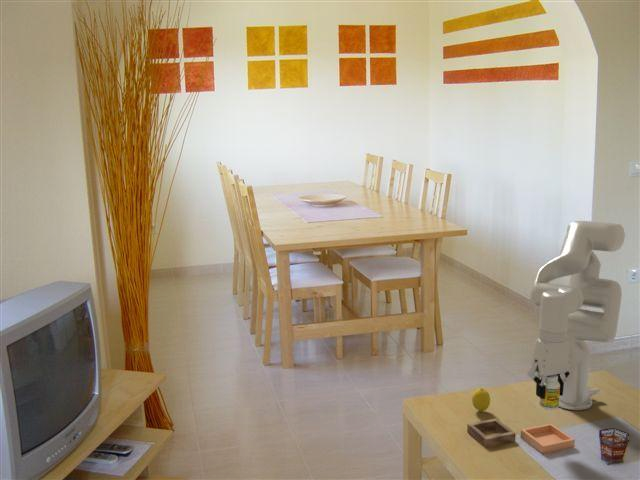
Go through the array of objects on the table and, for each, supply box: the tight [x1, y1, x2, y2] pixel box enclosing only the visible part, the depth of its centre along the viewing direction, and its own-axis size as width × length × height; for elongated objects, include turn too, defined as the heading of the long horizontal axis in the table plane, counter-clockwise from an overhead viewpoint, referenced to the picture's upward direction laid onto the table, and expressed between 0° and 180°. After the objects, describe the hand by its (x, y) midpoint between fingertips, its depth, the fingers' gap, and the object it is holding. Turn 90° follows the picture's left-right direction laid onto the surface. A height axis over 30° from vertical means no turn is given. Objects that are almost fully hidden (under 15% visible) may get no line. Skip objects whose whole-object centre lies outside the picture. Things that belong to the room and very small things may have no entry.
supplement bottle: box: [538, 374, 560, 411], centre depth 198 cm, size 5×5×10 cm
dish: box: [520, 422, 575, 455], centre depth 201 cm, size 11×11×2 cm
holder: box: [466, 418, 517, 448], centre depth 205 cm, size 10×10×2 cm
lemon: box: [471, 387, 491, 413], centre depth 221 cm, size 6×6×8 cm
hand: (549, 394), depth 198 cm, fingers closed on supplement bottle, 5 cm apart
